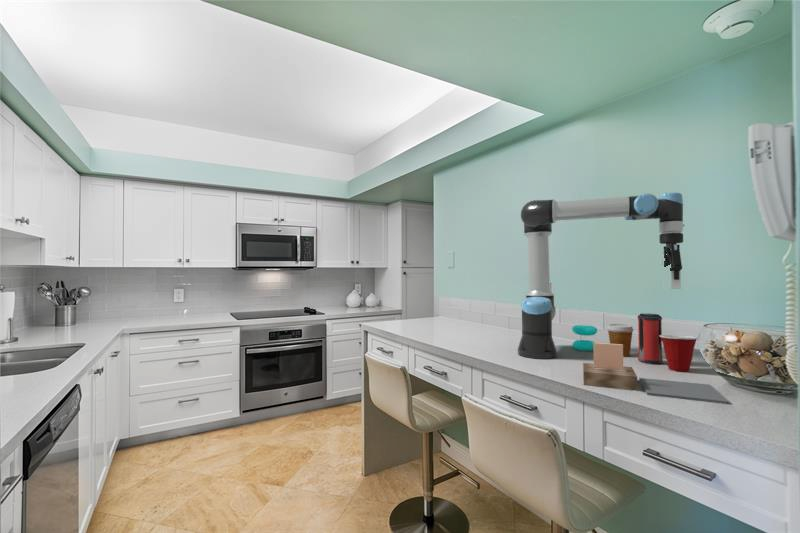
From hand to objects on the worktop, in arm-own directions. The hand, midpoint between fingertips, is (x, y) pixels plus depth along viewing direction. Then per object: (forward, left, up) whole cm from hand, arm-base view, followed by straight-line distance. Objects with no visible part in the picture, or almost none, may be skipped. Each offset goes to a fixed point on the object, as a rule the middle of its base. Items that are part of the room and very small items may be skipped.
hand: (671, 287), depth 147 cm
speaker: (-9, -8, -28) cm, 30 cm away
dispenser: (-25, -43, -28) cm, 57 cm away
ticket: (-25, -43, -28) cm, 57 cm away
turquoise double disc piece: (-31, +8, -28) cm, 42 cm away
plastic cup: (-2, -17, -28) cm, 33 cm away
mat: (-7, -44, -28) cm, 53 cm away
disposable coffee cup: (-18, +1, -28) cm, 33 cm away
